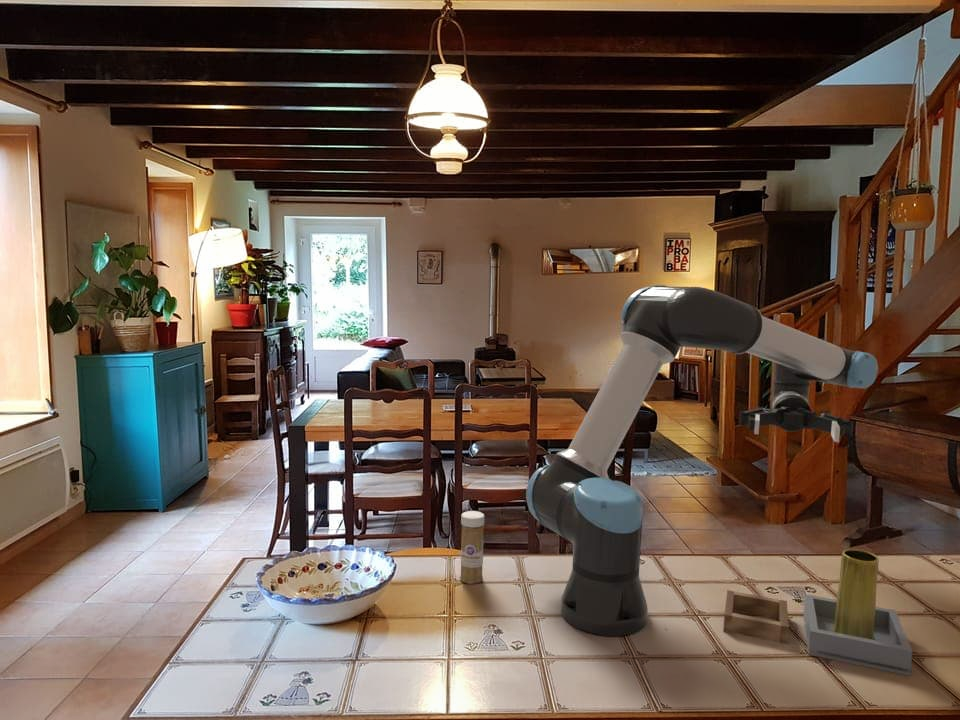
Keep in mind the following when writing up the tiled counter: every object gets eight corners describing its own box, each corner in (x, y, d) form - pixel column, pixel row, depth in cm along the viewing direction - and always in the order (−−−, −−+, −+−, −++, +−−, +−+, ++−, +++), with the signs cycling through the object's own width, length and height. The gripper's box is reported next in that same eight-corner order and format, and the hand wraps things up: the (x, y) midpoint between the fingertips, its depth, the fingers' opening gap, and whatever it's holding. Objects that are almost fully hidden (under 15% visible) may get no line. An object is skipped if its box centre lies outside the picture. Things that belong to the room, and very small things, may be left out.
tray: (808, 654, 107) (810, 631, 107) (803, 615, 120) (805, 594, 120) (909, 675, 102) (912, 651, 102) (893, 632, 115) (895, 610, 114)
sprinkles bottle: (460, 585, 130) (461, 518, 128) (459, 574, 134) (460, 510, 133) (484, 584, 130) (485, 518, 129) (482, 574, 135) (483, 509, 133)
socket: (723, 631, 114) (724, 614, 114) (726, 605, 123) (727, 590, 123) (787, 644, 110) (788, 627, 110) (785, 616, 120) (786, 601, 119)
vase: (872, 633, 113) (880, 552, 111) (875, 650, 107) (883, 565, 105) (832, 624, 115) (838, 545, 114) (832, 641, 110) (839, 557, 108)
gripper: (855, 434, 140) (870, 458, 120) (729, 422, 149) (724, 443, 130) (858, 399, 139) (874, 417, 120) (731, 389, 149) (726, 405, 129)
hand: (796, 431), depth 125 cm, fingers open, 13 cm apart
